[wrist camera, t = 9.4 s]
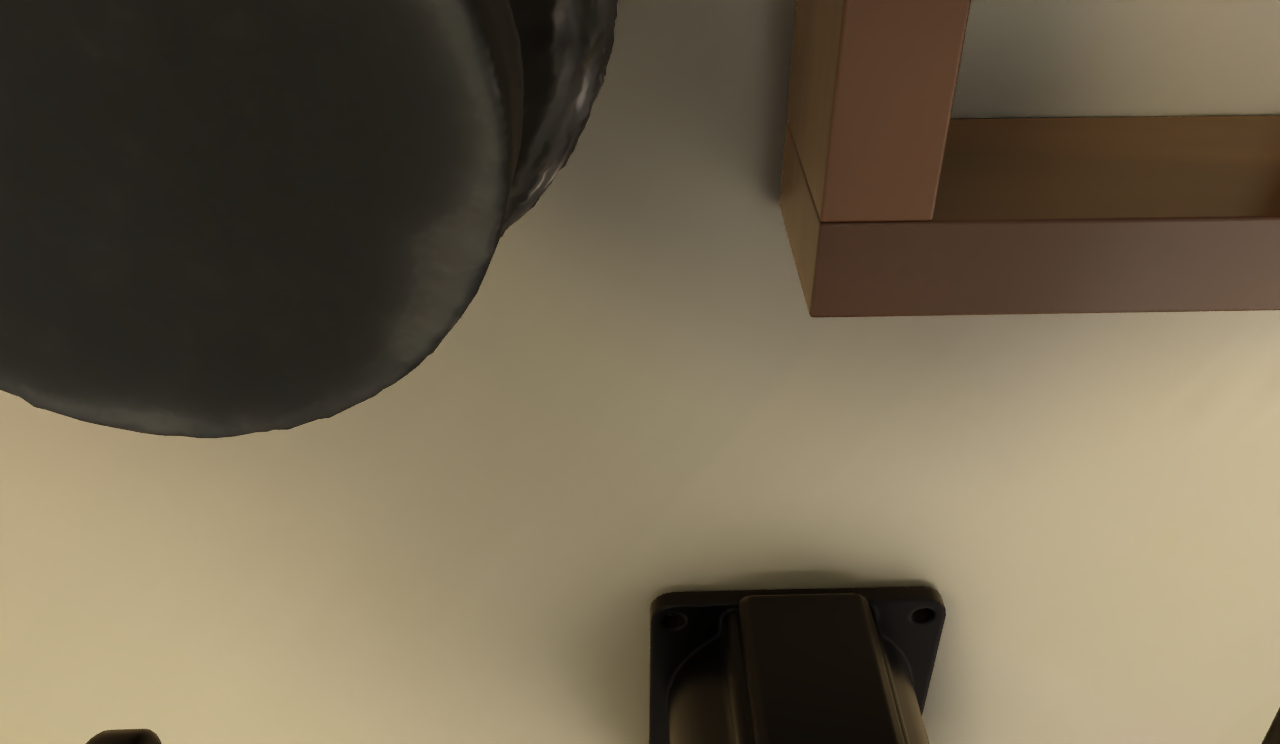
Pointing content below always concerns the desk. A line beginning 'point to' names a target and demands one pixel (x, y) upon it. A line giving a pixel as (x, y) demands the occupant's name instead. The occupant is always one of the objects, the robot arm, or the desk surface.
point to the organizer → (1006, 187)
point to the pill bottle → (265, 193)
